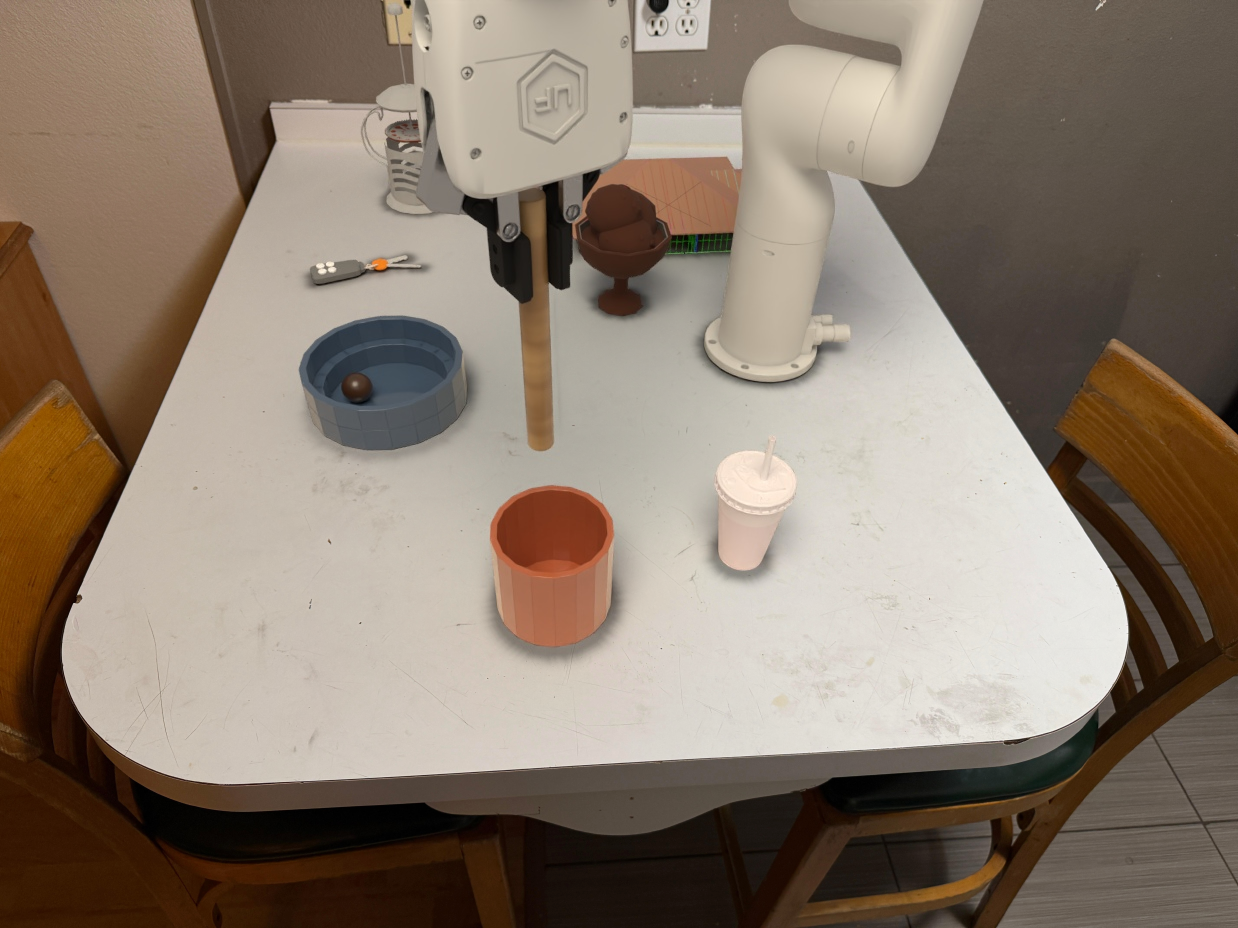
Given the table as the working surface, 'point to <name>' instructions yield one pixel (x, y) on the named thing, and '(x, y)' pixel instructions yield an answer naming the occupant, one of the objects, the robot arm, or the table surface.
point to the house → (682, 193)
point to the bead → (356, 387)
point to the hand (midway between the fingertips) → (533, 283)
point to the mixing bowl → (385, 381)
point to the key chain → (351, 269)
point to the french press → (400, 140)
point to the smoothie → (751, 504)
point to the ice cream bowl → (621, 242)
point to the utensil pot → (552, 564)
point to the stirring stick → (537, 325)
